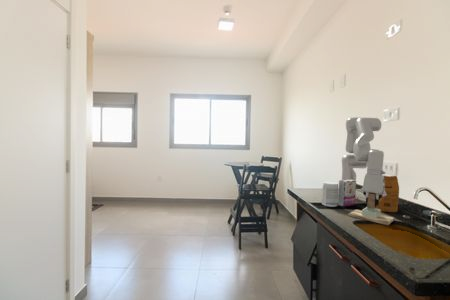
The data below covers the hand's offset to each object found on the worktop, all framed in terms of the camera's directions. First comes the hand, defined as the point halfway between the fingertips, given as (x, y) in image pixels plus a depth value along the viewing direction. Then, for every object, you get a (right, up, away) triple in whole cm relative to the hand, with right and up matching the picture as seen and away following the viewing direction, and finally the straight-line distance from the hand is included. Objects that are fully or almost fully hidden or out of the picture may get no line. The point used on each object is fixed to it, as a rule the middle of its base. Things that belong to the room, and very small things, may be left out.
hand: (372, 204), depth 154 cm
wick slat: (0, -1, 0) cm, 1 cm away
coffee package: (+18, -7, +18) cm, 26 cm away
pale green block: (0, -6, +1) cm, 6 cm away
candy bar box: (-2, -6, +27) cm, 28 cm away
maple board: (0, -7, +1) cm, 8 cm away
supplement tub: (-14, -5, +25) cm, 29 cm away
